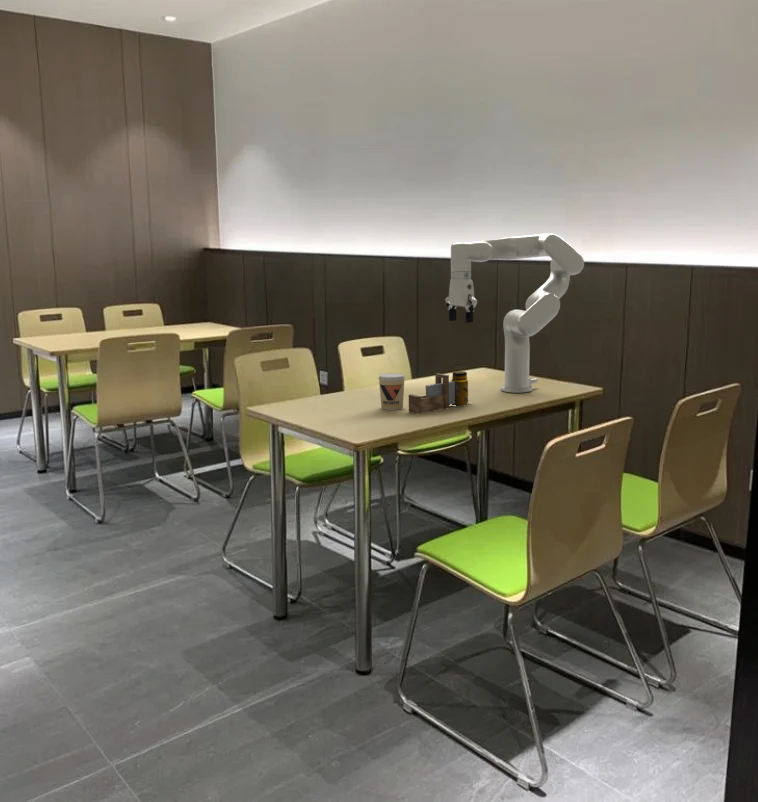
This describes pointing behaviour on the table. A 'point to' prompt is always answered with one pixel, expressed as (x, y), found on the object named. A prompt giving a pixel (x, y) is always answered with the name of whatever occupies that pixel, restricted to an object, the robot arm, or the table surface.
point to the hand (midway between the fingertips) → (460, 321)
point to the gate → (441, 391)
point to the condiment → (460, 388)
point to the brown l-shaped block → (431, 398)
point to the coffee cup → (391, 390)
